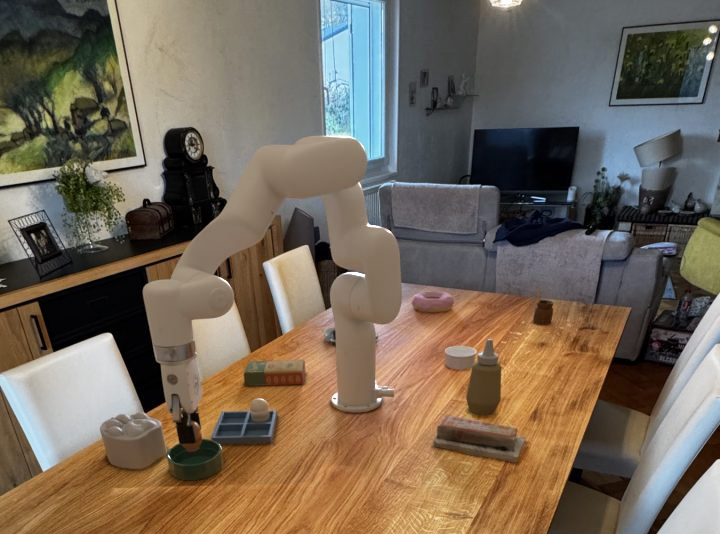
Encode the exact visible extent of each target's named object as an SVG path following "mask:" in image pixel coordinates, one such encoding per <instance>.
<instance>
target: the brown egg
mask: <svg viewBox="0 0 720 534" xmlns="http://www.w3.org/2000/svg"><path fill="white" fill-rule="evenodd" d="M191 424H193V428H194V433H195V439H196V442H195V443H194V444H181V445H182V446H183V447H184V448H185V449H186V450H187V451H189V452H193V451H196V450H198V449H199V446H200V445H201V443H202V439H203V435H202V428H201V429H200V426H199V425H198V424H197V423H196V422H194V421H192V420H191Z"/></svg>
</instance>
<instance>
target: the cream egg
mask: <svg viewBox="0 0 720 534" xmlns="http://www.w3.org/2000/svg"><path fill="white" fill-rule="evenodd" d="M269 406H270V405H269V403H268V401H267V400H266V399H263V398H262V397H261V398H259V397H257V398H255V399H253V400H252V401H251V402H250V404H249V411H250V413H251V418H252V420H253V421H254V422H255V423H259V422H267V421H268V419H269V416H270V413H269V410H270V407H269Z"/></svg>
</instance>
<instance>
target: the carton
mask: <svg viewBox="0 0 720 534" xmlns="http://www.w3.org/2000/svg"><path fill="white" fill-rule="evenodd" d="M305 377H306V362H305V360H304V359H286V360H282V359H281V360H254V361H252V360H248V362H247V365H246V367H245V369H244V371H243V381H244V385H245V386H246V387H250V386H251V387H252V386H283V385H285V386H289V385H304V381H305Z"/></svg>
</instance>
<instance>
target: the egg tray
mask: <svg viewBox="0 0 720 534" xmlns="http://www.w3.org/2000/svg"><path fill="white" fill-rule="evenodd" d="M269 413H270V416H269V419H268V421H267V422H259V423H255V422H254V421H253V420H252V418H251V413H250V410H227V411H224V410H223V411H221V412H220V415H219V417H218V420H217V423H216V425H215V427H214V429H213V432H212V435H211V438H210V440H214V441H216V442H217V443H219V444H220V445H244V444H245V445H248V444H249V445H253V444H272V443H273V440H274V439H273V438H274V434H275V428H276V424H277V419H278V411H277V410H276V409H272V410H271V409H269Z"/></svg>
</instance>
